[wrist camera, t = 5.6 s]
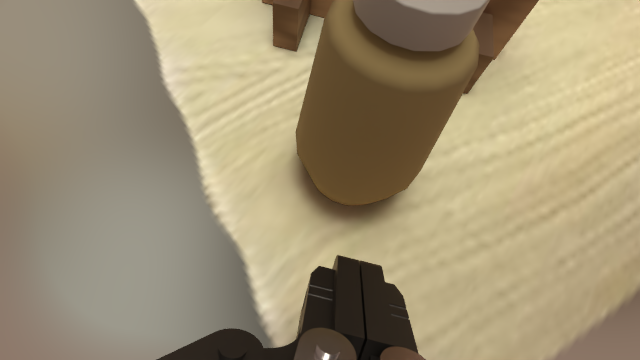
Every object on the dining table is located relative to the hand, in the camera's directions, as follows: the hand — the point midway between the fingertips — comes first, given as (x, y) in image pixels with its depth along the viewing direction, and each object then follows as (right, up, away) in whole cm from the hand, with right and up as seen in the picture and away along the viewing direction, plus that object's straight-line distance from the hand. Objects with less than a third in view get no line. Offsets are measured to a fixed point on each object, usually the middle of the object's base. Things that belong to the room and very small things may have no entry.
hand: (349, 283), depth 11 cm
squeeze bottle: (+1, +4, +13) cm, 14 cm away
